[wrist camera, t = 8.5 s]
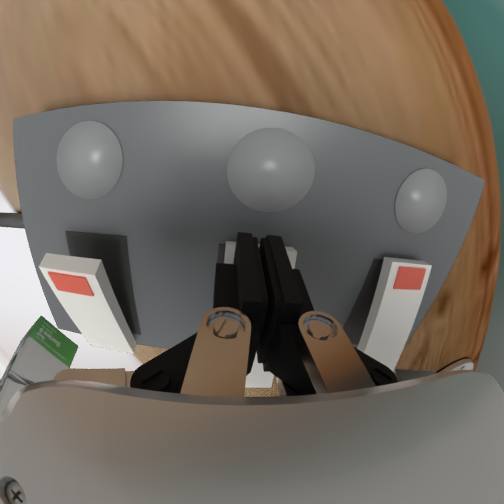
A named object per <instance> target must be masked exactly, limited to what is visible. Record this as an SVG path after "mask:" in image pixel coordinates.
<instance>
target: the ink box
mask: <svg viewBox="0 0 504 504" xmlns="http://www.w3.org/2000/svg"><path fill="white" fill-rule="evenodd" d="M77 348H78V345H76V344H75V343H74V342H72V341H71V340H70V339H69V338H67V337H66V336H65V335H64V334H62V333H61V332H60V331H59V330H58V329H57V328H55V327H54V326H53V325H52V324H51V323H49V322H48V321H47V320H46V319H45V318H44V317H42V316H40V318H39V319H38V320H37V321H36V322H35V324H34V325H33V326H32V327H31V329H30V330H29V331H28V332H27V334H26V335H25V336H24V338H23V339H22V340H21V342H20V344H19V346H18V348H17V349H16V351H15V353H14V355H13V357H12V359H11V361H10V363H9V365H8V366H7V369H6V371H5V373H4V375H3V377H2V379H1V381H0V419H1V417H2V415H3V412H4V410H5V408H6V406H7V404H8V403H9V401H10V400H11V398H12V397H13V396H14V394H15V393H16V392H17V391H19V390H20V389H21V388H23V387H25V386H26V385H29V384H33V383H37V382H41V381H49V380H53V378H54V377H55V375H56V374H57V373H58V372H60V371H62V370H64V369H69V368H70V365H71V363H72V360H73V358H74V356H75V353H76V351H77Z"/></svg>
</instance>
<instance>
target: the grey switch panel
mask: <svg viewBox="0 0 504 504" xmlns="http://www.w3.org/2000/svg"><path fill="white" fill-rule="evenodd" d="M13 134H14V156H15V169H16V178H17V186H18V193H19V200H20V206H21V211H22V213H0V226H1V227H13V228H25V230H26V235H27V239H28V243H29V247H30V251H31V254H32V258H33V261H34V265H35V268H36V271H37V274H38V277H39V280H40V283H41V286H42V289H43V292H44V295H45V297H46V300H47V302H48V305H49V307H50V310H51V312H52V315H53V317H54V320H55V322H56V324H57V327H58V328H59V329H63V330H67V331H72V332H75V333H80V334H82V333H81V332H80V330H79V329H78V327H77V326H76V325H75V323H74V322H73V321H72V319H71V318H70V316H69V315H68V313H67V312H66V310H65V309H64V307H63V306H62V304H61V303H60V301H59V300H58V298H57V297H56V295H55V294H54V292H53V290H52V289H51V287H50V285H49V284H48V282H47V280H46V279H45V277H44V275H43V273H42V272H41V270H40V268H39V265H40V263H41V261H42V260H43V258H44V256H45V254H46V253H51V254H58V255H66V256H75V257H83V258H91V259H100V260H102V263H103V266H104V268H105V271H106V274H107V276H108V279H109V282H110V284H111V287H112V289H113V292H114V294H115V297H116V299H117V301H118V304H119V306H120V308H121V311H122V313H123V315H124V318H125V320H126V322H127V324H128V326H129V328H130V330H131V333H132V335H133V337H134V339H135V341H136V344H138V345H145V346H152V347H159V348H167V349H170V348H172V347H174V346H175V345H177V344H179V343H180V342H182V341H184V340H185V339H187V338H189V337H190V336H192V335H193V334H195V333H197V332H198V329H199V326H200V323H201V319H202V318H203V316H204V314H205V313H207V312H208V311H209V310H211V309H213V296H214V281H215V269H216V263H224V257H225V247H226V241H233V242H236V239H237V233H238V232H244V233H252V237H257V240H258V244H260V241H261V238H266V236H267V235H275V236H281V237H282V240H283V243H284V246H286V247H293V248H294V249H295V250H296V251H297V257H296V263H295V269H299V270H300V272H301V275H302V278H303V280H304V283H305V286H306V289H307V291H308V294H309V297H310V300H311V303H312V305H313V308H314V311H320V312H324V313H327V314H329V315H331V316H332V317H334V318H335V319H336V320H337V321H338V322H339V323H340V325H341V327H342V328H343V330H344V332H345V333H346V335H347V337H348V338H349V340H350V342H351V343H352V345H353V347H355V348H357V347H358V345H359V342H360V339H361V336H362V333H363V330H364V327H365V324H366V321H367V318H368V315H369V312H370V308H371V305H372V302H373V298H374V295H375V291H376V288H377V284H378V280H379V276H380V273H381V269H382V265H383V260H384V257H390V258H400V259H409V260H418V261H424V262H426V263H428V264H430V265H432V267H431V271H430V275H429V278H428V282H427V285H426V288H425V291H424V295H423V298H422V301H421V304H420V307H419V310H418V312H417V315H416V318H415V321H414V323H413V326H412V329H411V331H410V334H409V336H408V339H407V341H406V344H407V342H408V341H409V339H410V338H411V336H412V335H413V333H414V332H415V330H416V329H417V327H418V326H419V324H420V323H421V321H422V319H423V318H424V316H425V315H426V313H427V311H428V310H429V308H430V306H431V305H432V303H433V301H434V299H435V298H436V296H437V294H438V292H439V291H440V289H441V287H442V285H443V283H444V281H445V279H446V277H447V275H448V273H449V271H450V269H451V267H452V265H453V263H454V261H455V259H456V257H457V255H458V253H459V251H460V248H461V246H462V244H463V241H464V239H465V237H466V234H467V232H468V229H469V227H470V224H471V222H472V219H473V217H474V214H475V211H476V208H477V205H478V203H479V200H480V197H481V193H482V190H483V187H484V184H485V180H483V179H481V178H479V177H477V176H475V175H473V174H472V173H470V172H468V171H466V170H464V169H461V168H459V167H457V166H455V165H453V164H451V163H449V162H447V161H444V160H442V159H440V158H438V157H435V156H433V155H430V154H428V153H426V152H423V151H421V150H418V149H416V148H413V147H410V146H408V145H405V144H402V143H400V142H397V141H394V140H391V139H388V138H385V137H382V136H379V135H376V134H373V133H369V132H366V131H363V130H359V129H356V128H352V127H349V126H345V125H341V124H337V123H333V122H329V121H325V120H321V119H317V118H312V117H307V116H303V115H298V114H292V113H287V112H281V111H275V110H269V109H262V108H255V107H248V106H239V105H230V104H219V103H206V102H187V101H133V102H115V103H102V104H92V105H83V106H76V107H69V108H62V109H56V110H51V111H45V112H40V113H35V114H31V115H26V116H22V117H18V118H14V119H13ZM406 344H405V345H406ZM404 347H405V346H404Z"/></svg>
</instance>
